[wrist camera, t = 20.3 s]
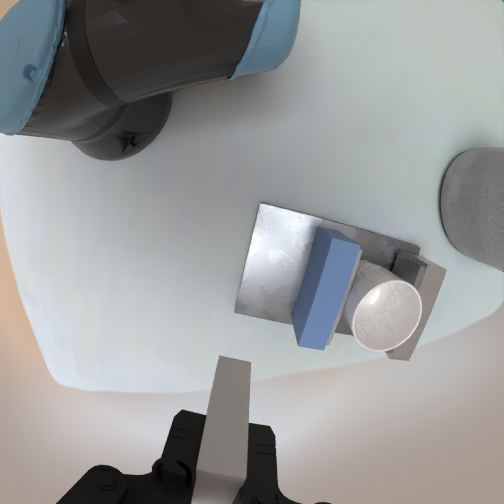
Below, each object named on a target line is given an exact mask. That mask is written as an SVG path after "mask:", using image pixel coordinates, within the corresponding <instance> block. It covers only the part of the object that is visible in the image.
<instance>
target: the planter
mask: <svg viewBox="0 0 504 504" xmlns="http://www.w3.org/2000/svg"><path fill="white" fill-rule="evenodd" d="M441 214H442V220H443V224H444V228H445V231H446V233H447V236H448V238H449V239H450V241H451V243H452V244H453V245H454V247H455V248H456V249H457V250H459V251H460V252H461V253H463V254H464V255H466V256H468V257H470V258H473V259H475V260H477V261H480V262H482V263H484V264H487V265H489V266H491V267H494V268H496V269H498V270H501V271H503V272H504V148H484V149H472V150H469V151H466V152H464V153H462V154H460V155H459V156H458V157H457V158H456V159H455V160H454V161H453V162H452V164H451V165H450V167H449V169H448V171H447V173H446V176H445V179H444V182H443V187H442V193H441Z"/></svg>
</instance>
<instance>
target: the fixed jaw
mask: <svg viewBox="0 0 504 504" xmlns="http://www.w3.org/2000/svg"><path fill="white" fill-rule="evenodd" d="M392 273H393V274H395V275H397V276H398V277H400V278H401V279H403V280H405V281H406V282H408V283H410V284H411V285H412V286H414V287H415V288H416V290H417V291H418V293H419V295H420V297H421V301H422V314H421V318H420V321H419V324H418V326H417V328H416V329H415V331H414V332H413V334H412V335H411V336H410V337H409V338H408V339H407V340H406V341H405V342H404V343H402V344H401V345H399V346H398V347H396V348H394V349H391V350H388V351H385V353H386V354H387V356H388V357H389V358H390V359H397V360H408V361H409V358H410V357H411V355H412V353H413V351H414V349H415V347H416V345H417V343H418V341H419V338H420V336H421V334H422V332H423V330H424V327H425V325H426V323H427V320H428V318H429V316H430V313H431V311H432V308H433V306H434V303H435V301H436V298H437V296H438V293H439V290H440V288H441V285H442V282H443V279H444V276H445V273H446V269H444V268H443V267H441V266H439V265H437V264H435V263H433V262H431V261H429V260H428V259H426V258H424V257H422V256H420V255H417V254H414V253H411V252H407V251H404V250H401V252H400V254H399V253H398V255H397V258H396V261H395V264H394V267H393V270H392Z"/></svg>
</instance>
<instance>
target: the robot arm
mask: <svg viewBox="0 0 504 504" xmlns="http://www.w3.org/2000/svg"><path fill="white" fill-rule="evenodd" d="M300 5H301V0H20V1H19V2H17V3H16V4H15V5H14V6H13V7H12V8H11V9H10V10H9V11H8V12H7V13H6V14H5V16H4V17H3V18H2V19H1V21H0V133H4V134H6V135H11V136H12V135H14V134H16V135H26V136H36V137H45V138H53V139H61V140H68V141H71V142H72V143H73V144H74V145H75V146H77V147H78V148H79V149H80V150H81V151H82V152H83V153H85V154H86V155H88V156H90V157H93V158H96V159H100V160H110V161H113V160H121V159H125V158H128V157H130V156H133V155H135V154H137V153H138V152H140V151H141V150H143V149H144V148H145V147H147V146H148V145H149V144H150V143H151V142H152V141H153V140H154V139H155V138H156V136H157V135H158V134H159V133H160V131H161V130H162V128H163V126H164V124H165V123H166V120H167V118H168V115H169V112H170V109H171V104H172V91H173V90H177V89H181V88H185V87H189V86H194V85H198V84H203V83H207V82H212V81H217V80H223V79H225V81H231V80H234V79H236V78H237V77H239V76H244V75H249V74H255V73H260V72H266V71H270V70H273V69H275V68H277V67H278V66H279V65H280V64H281V63H283V62H284V60H285V59H286V58H287V57H288V56H289V54H290V52H291V50H292V47H293V44H294V41H295V38H296V34H297V29H298V24H299V17H300ZM250 373H251V362H248V361H243V360H238V359H233V358H228V357H224V356H220V355H219V359H218V364H217V368H216V372H215V377H214V381H213V386H212V390H211V395H210V400H209V404H208V409H207V414H206V415H203V414H199V413H194V412H190V411H186V410H181V411H180V412H179V413H178V414H177V415H175V416H174V419H173V422H172V425H171V428H170V431H169V434H168V437H167V441H166V444H165V447H164V450H163V453H162V456H161V458H160V459H158V460H157V461H155V463H154V464H153V466H152V472H151V473H148V474H144V475H128V474H122V473H121V472H120V471H119V470H118V469H116V468H114V467H112V466H109V465H98V466H94V467H92V468H91V469H89V470H88V471H87V472H86V473H85V474H84V476H83V477H82V478H81V479H80V480H79V481H78V482H77V483H76V484H75V485H74V486H73V487H72V488H71V489H70V490H69V491H68V492H67V493H66V494H65V495H64V496H63V497H62V498H61V499H60V500H59V501H58V502H57V503H56V504H191V503H193V504H301V503H297V502H294V501H292V500H290V499H288V498H287V497H285V496H284V495H283V494H282V493H281V491H280V489H279V487H278V479H277V461H276V460H277V459H276V448H275V446H276V443H275V434H274V433H273V431H272V429H271V427H270V426H266V425H259V424H253V423H249V399H250ZM315 504H331V503H326V502H318V503H315Z"/></svg>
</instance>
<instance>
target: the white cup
mask: <svg viewBox="0 0 504 504" xmlns="http://www.w3.org/2000/svg"><path fill="white" fill-rule="evenodd" d="M342 312H343V314H344V316H345V319H346V321H347V323H348V325H349V327H350V329H351V331H352V333H353V335H354V337H355V339H356V341H357V342H358V343H359V344H360V345H361V346H362V347H363V348H365V349H367V350H370V351H374V352H383V351H388V350H391V349H394V348H396V347H398V346H399V345H401V344H402V343H404V342H405V341H406V340H407V339H408V338H409V337H410V336H411V335H412V334H413V332H414V331H415V329H416V328H417V326H418V324H419V321H420V318H421V314H422V301H421V297H420V295H419V293H418V291H417V290H416V288H415V287H414V286H412V285H411V284H410V283H408V282H406V281H405V280H403V279H401V278H400V277H398V276H397V275H395V274H393V273H392V272H390V271H388V270H387V269H385V268H383V267H381V266H379V265H376V264H375V263H372V262H370V261H367V260H359V264H358V267H357V270H356V273H355V276H354V279H353V282H352V285H351V288H350V291H349V294H348V297H347V299H346V302H345V305H344V308H343V311H342Z"/></svg>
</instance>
